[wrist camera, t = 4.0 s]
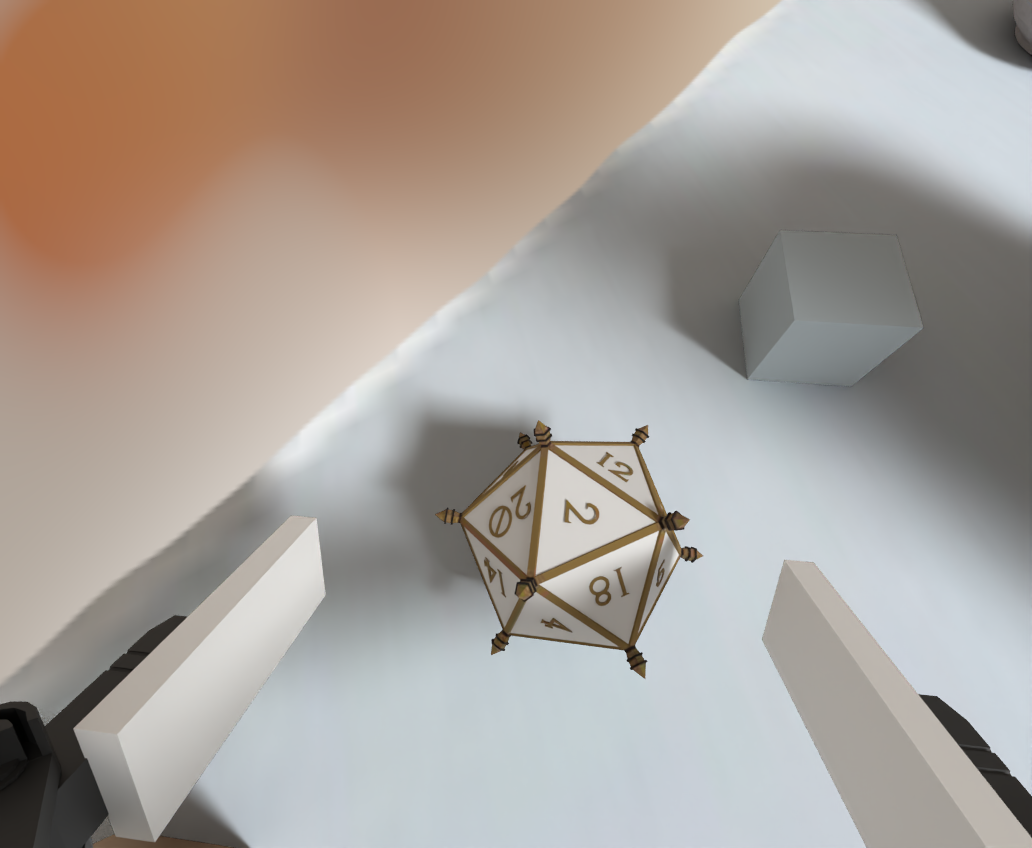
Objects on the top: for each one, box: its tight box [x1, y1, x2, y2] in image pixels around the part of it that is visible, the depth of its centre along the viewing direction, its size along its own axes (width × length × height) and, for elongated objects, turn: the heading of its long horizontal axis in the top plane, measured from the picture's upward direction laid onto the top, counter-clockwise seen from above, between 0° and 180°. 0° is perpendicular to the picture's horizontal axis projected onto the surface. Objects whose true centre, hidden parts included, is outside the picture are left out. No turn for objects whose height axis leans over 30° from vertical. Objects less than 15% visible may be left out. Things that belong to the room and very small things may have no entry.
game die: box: [435, 420, 703, 678], centre depth 17 cm, size 9×8×10 cm
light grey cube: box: [739, 230, 924, 387], centre depth 23 cm, size 5×5×5 cm
